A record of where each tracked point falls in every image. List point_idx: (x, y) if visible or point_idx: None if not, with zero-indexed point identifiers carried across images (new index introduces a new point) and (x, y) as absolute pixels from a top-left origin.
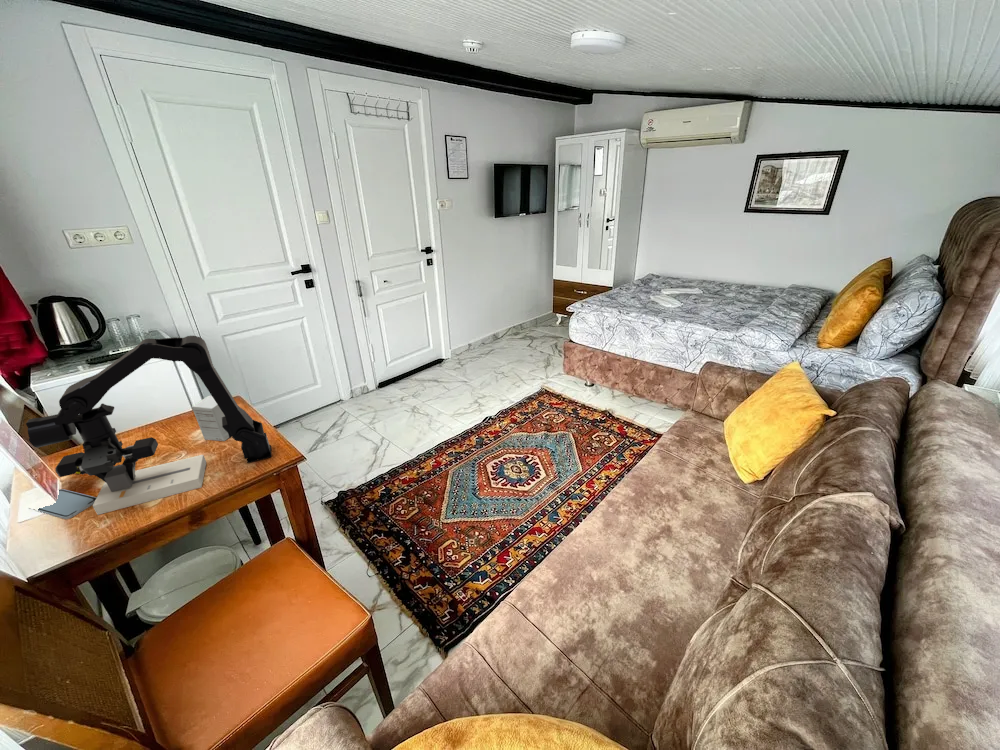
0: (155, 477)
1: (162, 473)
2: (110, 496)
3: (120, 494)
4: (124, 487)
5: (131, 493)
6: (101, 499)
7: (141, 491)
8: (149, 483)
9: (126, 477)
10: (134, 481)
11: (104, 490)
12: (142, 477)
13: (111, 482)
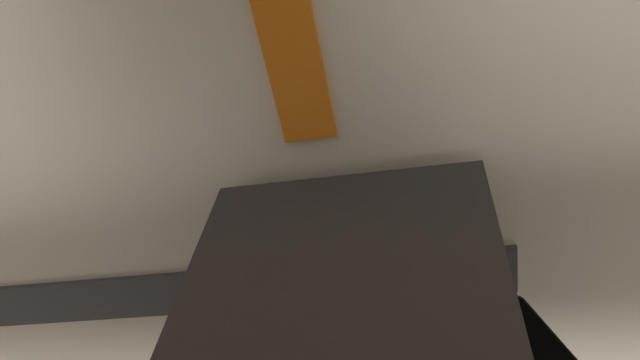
0: (26, 295)
1: (7, 341)
2: (476, 61)
3: (322, 63)
4: (293, 194)
5: (146, 35)
6: (612, 23)
7: (8, 41)
8: (24, 203)
9: (165, 355)
10: None
11: (614, 246)
12: None
13: (432, 308)
